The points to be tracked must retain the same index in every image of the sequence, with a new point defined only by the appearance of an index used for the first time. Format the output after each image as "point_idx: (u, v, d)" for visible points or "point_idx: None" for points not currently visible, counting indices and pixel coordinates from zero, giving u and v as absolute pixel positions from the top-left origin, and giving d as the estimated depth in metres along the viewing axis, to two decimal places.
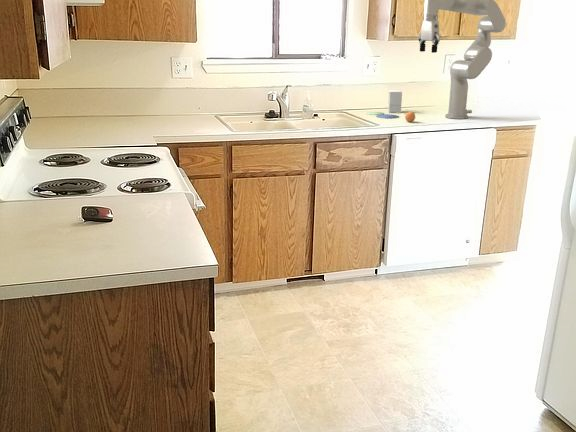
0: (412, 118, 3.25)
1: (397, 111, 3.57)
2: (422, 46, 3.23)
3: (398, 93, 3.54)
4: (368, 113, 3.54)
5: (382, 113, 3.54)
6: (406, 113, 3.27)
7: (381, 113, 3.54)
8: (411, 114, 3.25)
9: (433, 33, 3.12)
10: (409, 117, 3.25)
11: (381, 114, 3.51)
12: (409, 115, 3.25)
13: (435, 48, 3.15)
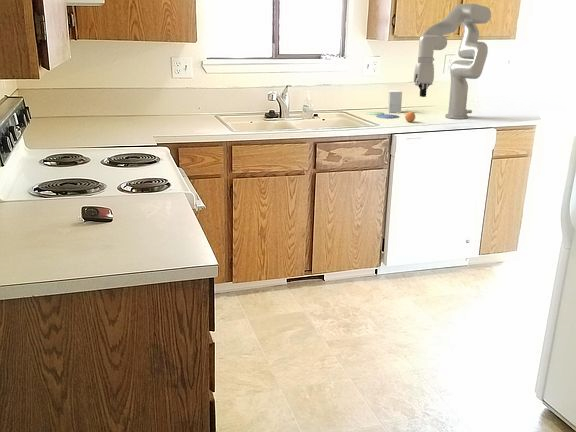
0: (412, 118, 3.25)
1: (397, 111, 3.57)
2: None
3: (398, 93, 3.54)
4: (368, 113, 3.54)
5: (382, 113, 3.54)
6: (406, 113, 3.27)
7: (381, 113, 3.54)
8: (411, 114, 3.25)
9: None
10: (409, 117, 3.25)
11: (381, 114, 3.51)
12: (409, 115, 3.25)
13: None
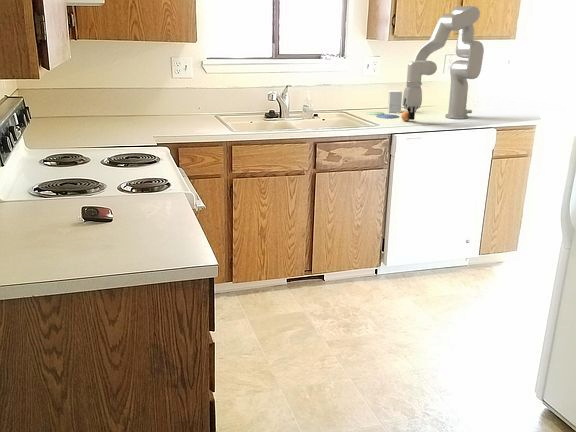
0: (408, 114, 3.27)
1: (397, 111, 3.57)
2: None
3: (398, 93, 3.54)
4: (368, 113, 3.54)
5: (382, 113, 3.54)
6: (401, 115, 3.31)
7: (381, 113, 3.54)
8: (405, 111, 3.28)
9: None
10: (404, 114, 3.27)
11: (381, 114, 3.51)
12: (403, 113, 3.28)
13: None
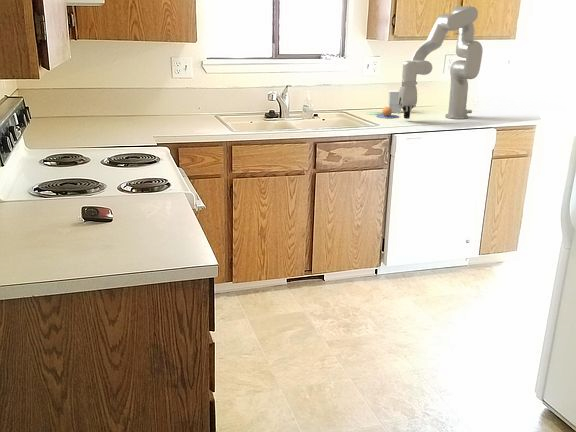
0: (388, 109, 3.42)
1: (397, 111, 3.57)
2: None
3: (398, 93, 3.54)
4: (368, 113, 3.54)
5: None
6: (382, 111, 3.45)
7: (381, 113, 3.54)
8: (385, 107, 3.43)
9: None
10: (384, 110, 3.42)
11: (381, 114, 3.51)
12: (384, 108, 3.43)
13: None
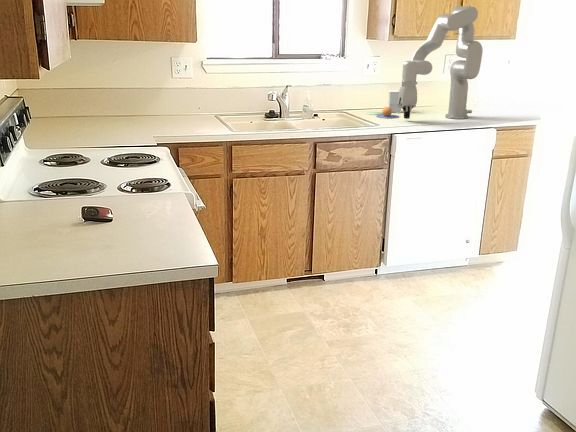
0: (388, 109, 3.42)
1: (397, 111, 3.57)
2: None
3: (398, 93, 3.54)
4: (368, 113, 3.54)
5: None
6: (382, 111, 3.45)
7: (381, 113, 3.54)
8: (385, 107, 3.43)
9: None
10: (384, 110, 3.42)
11: (381, 114, 3.51)
12: (384, 108, 3.43)
13: None
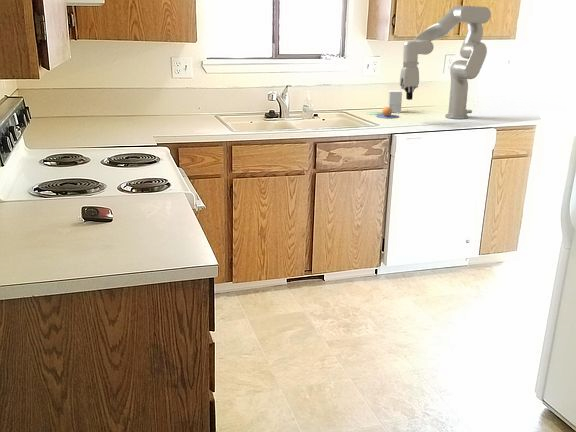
0: (388, 109, 3.42)
1: (397, 111, 3.57)
2: None
3: (398, 93, 3.54)
4: (368, 113, 3.54)
5: None
6: (382, 111, 3.45)
7: (381, 113, 3.54)
8: (385, 107, 3.43)
9: None
10: (384, 110, 3.42)
11: (381, 114, 3.51)
12: (384, 108, 3.43)
13: None
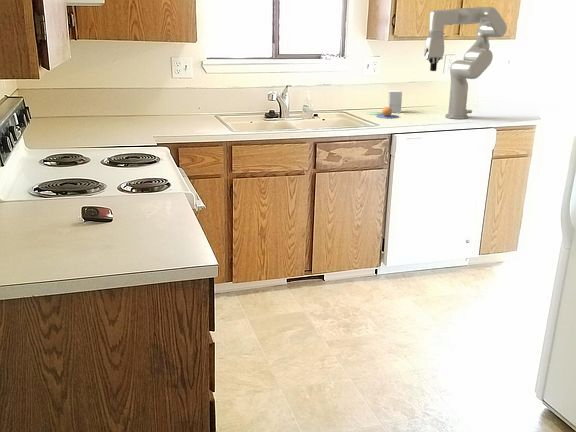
0: (388, 109, 3.42)
1: (397, 111, 3.57)
2: None
3: (398, 93, 3.54)
4: (368, 113, 3.54)
5: None
6: (382, 111, 3.45)
7: (381, 113, 3.54)
8: (385, 107, 3.43)
9: None
10: (384, 110, 3.42)
11: (381, 114, 3.51)
12: (384, 108, 3.43)
13: None
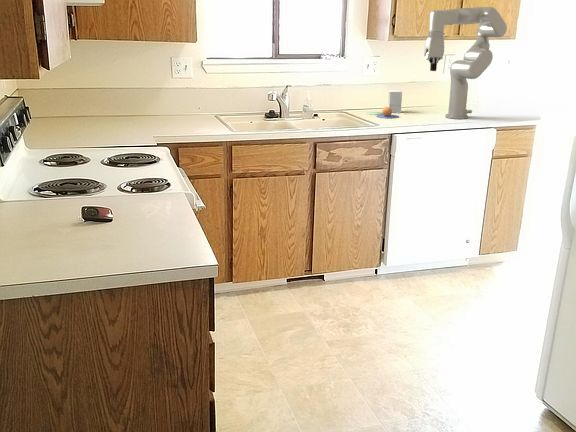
0: (388, 109, 3.42)
1: (397, 111, 3.57)
2: None
3: (398, 93, 3.54)
4: (368, 113, 3.54)
5: None
6: (382, 111, 3.45)
7: (381, 113, 3.54)
8: (385, 107, 3.43)
9: None
10: (384, 110, 3.42)
11: (381, 114, 3.51)
12: (384, 108, 3.43)
13: None
